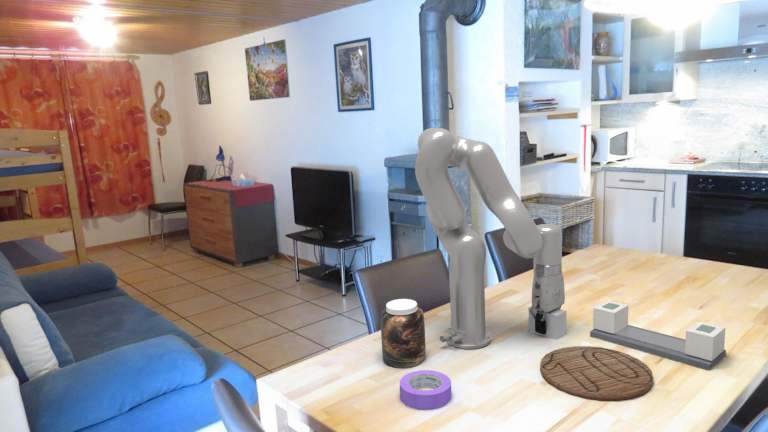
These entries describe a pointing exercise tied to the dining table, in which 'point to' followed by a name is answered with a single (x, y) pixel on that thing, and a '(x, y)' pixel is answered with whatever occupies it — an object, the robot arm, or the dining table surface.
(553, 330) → the module block
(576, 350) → the trivet
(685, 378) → the dining table surface
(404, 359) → the jar
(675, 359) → the rail panel
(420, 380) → the masking tape
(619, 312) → the mounted modules
